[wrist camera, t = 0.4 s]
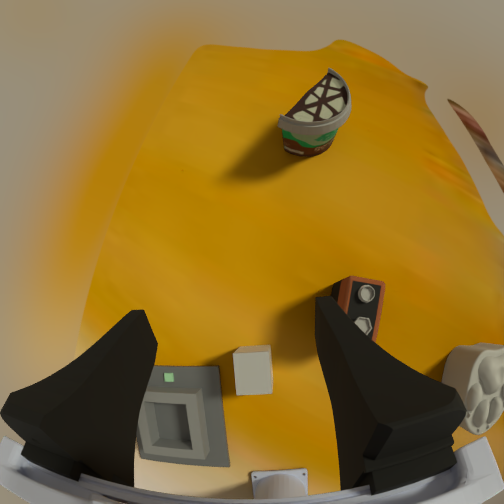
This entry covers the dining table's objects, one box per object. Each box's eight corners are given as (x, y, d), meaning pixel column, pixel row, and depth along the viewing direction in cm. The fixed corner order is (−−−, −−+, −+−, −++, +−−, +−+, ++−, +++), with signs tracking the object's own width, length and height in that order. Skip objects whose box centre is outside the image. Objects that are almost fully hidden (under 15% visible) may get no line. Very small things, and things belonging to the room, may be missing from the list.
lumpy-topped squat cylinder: (492, 340, 33) (525, 344, 25) (480, 415, 31) (509, 428, 22) (445, 347, 34) (478, 353, 26) (432, 427, 32) (459, 446, 23)
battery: (323, 333, 37) (338, 341, 27) (332, 282, 38) (350, 273, 28) (354, 337, 36) (378, 347, 26) (363, 287, 37) (390, 280, 27)
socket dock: (230, 465, 34) (225, 477, 30) (142, 457, 35) (133, 466, 31) (219, 365, 37) (213, 371, 33) (126, 363, 38) (114, 367, 34)
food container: (312, 180, 40) (321, 144, 31) (278, 156, 42) (277, 117, 32) (355, 127, 42) (370, 87, 32) (323, 107, 43) (330, 65, 33)
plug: (273, 380, 36) (272, 393, 30) (242, 382, 36) (236, 395, 30) (270, 344, 37) (268, 351, 31) (239, 346, 37) (232, 353, 31)
